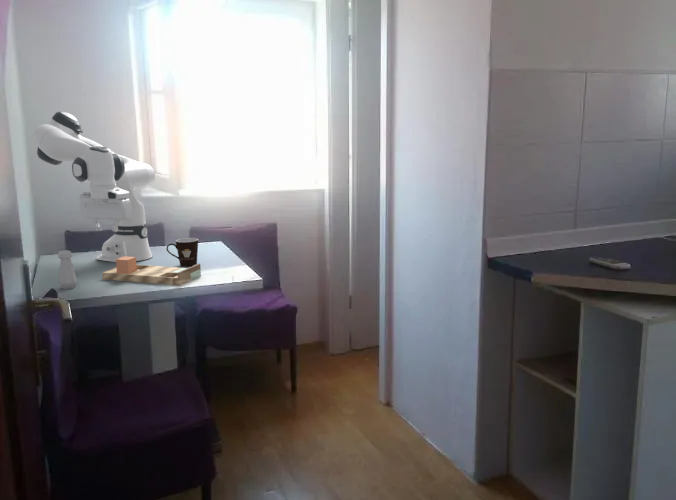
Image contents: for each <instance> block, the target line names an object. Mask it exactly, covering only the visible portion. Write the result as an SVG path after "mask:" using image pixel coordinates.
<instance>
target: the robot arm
mask: <svg viewBox="0 0 676 500" xmlns="http://www.w3.org/2000/svg"><path fill="white" fill-rule="evenodd" d="M83 132H84V131H83V130H82V126H81V123H80V122H79V119H77V118H76V117H75V116H74V115H73V114H71V113H69V112H65V111H56V112H55V113H54V115H53V116H52V117H51V120H50V121H49V122H48V124H47V123H44V124H39V125H38V126H36V127H35V128H34V130H33V133H32V138H33V141H34V143H35V144H36V146H37V149H36V150H37V151H36V154H37V157H38V159H40V160H41V161H42V162H44V163H45V164H47V165H51V166H52V165H53V166H58V165H61V164H62V163H63V162H72V164H71V171H72V176H73V177H74V178H75V179H76V180H77V181H78V182H80V183H89V191H90V192H86V191H83V192H82V193H81V194H80V195H79V216H80V218H82V219H91V220H92V223H93V225H94V227H95V231H97V232H101V231H103V225H101V224H100V220H112V221H113V223H114V224H113V226H111V232H112V233H113V232H114V234H113V235H112V236H110V237H109V238H108V239H107V240H106V241H104V242H103V244H102V247H101V254H99V255H97V256H96V260H97V261H98V260H99V261H105V262H113V263H116V259H118V258H121V257H124V256H126V257H136V262H140V261H145V260H149V259H151V258H153V254H152V251H151V248H150V244H149V240H148V225H147V222H146V211H145V205H144V203H143V202H142V201H140V200H138V198H137V196H136V193H135V191H136V190H142V189H145V188H147V187H149V186H151V185H152V184H153V183H154V181H155V179H156V178H155V177H156V175H155V171H154V168H153V167H152V166H151V165H150V164H148V163H145V162H141V161H137V160H134V159H132V158H129V157H127V156H123V155H121V154H118V153H116V152H114V151H112V150H111V148H108V147H106V146H103V145H102V144H100V143H98V142H96V141H94V140H92V139H91V138H87V137H84V136H82V135H81V134H83Z"/></svg>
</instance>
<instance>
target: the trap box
mask: <svg viewBox="0 0 676 500" xmlns="http://www.w3.org/2000/svg"><path fill="white" fill-rule="evenodd" d="M201 270H202V269H201V263H197V264H196V265H194V266H192V267H176V266H164V265H163V266H161V265H147V264H137V271H135V272H132V273H129V274H125V273H117V269H116V267H113V268H111V269H108V270H105V271H103V272H101V273H102V275H101V276H102V280H108V281H119V282H120V281H121V282H133V283H134V282H135V283H145V284H147V283H148V284H157V285H158V284H159V285H172V286H182V285H184V284H186V283H188V281H189V282H191V281H193V280H194V279H197V278H199V277H201V276H202V274H201V273H202V271H201ZM190 280H191V281H190Z"/></svg>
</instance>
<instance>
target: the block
mask: <svg viewBox="0 0 676 500" xmlns="http://www.w3.org/2000/svg"><path fill="white" fill-rule="evenodd" d="M137 265H138V264H137V261H136V257H126V256H124V257H121V258H118V259H116V262H115V268H116V269H117V273H125V274H129V273H132V272H135V271H137Z"/></svg>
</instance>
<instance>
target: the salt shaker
mask: <svg viewBox="0 0 676 500" xmlns="http://www.w3.org/2000/svg"><path fill="white" fill-rule="evenodd" d="M72 255H73V253H72V251H70V250H67V249H66V250H60V251H59V252H58V253H57V256H58V257H57V258H59V260H60V262H59V263H60V265H59V273H58V284H59V285H60V287H61V289H62V290H72V289H74V288H76V285H77V282H78V279H77V276H76V274H75V273H76V272H75V270H74V266H73V263H72V260H71V258H72V257H73V256H72Z"/></svg>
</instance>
